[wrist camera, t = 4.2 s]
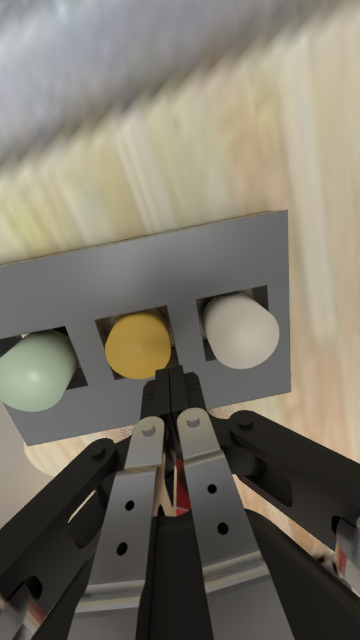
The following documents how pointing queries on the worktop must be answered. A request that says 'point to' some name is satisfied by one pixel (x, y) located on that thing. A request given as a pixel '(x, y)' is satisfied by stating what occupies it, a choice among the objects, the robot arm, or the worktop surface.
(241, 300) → the button ivory
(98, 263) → the panel
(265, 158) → the worktop surface
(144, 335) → the button amber
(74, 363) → the button sage
